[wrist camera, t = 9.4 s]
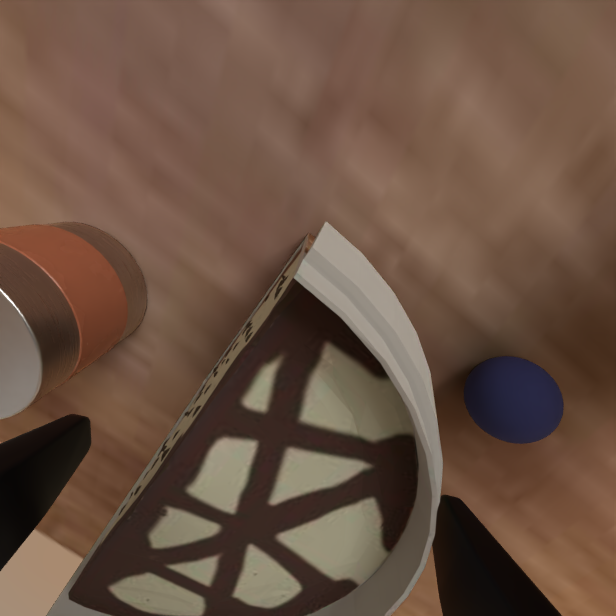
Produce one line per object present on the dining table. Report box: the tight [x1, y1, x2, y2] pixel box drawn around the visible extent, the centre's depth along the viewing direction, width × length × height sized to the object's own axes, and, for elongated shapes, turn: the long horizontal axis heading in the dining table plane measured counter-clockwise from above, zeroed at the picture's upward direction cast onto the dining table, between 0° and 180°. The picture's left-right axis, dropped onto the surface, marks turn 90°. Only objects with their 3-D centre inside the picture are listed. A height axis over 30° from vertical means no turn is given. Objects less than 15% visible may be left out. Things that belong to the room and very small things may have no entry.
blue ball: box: [464, 356, 563, 444], centre depth 14 cm, size 4×4×4 cm
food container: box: [46, 222, 443, 616], centre depth 11 cm, size 12×6×10 cm, turn 144°
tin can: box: [0, 222, 147, 419], centre depth 12 cm, size 6×6×6 cm
